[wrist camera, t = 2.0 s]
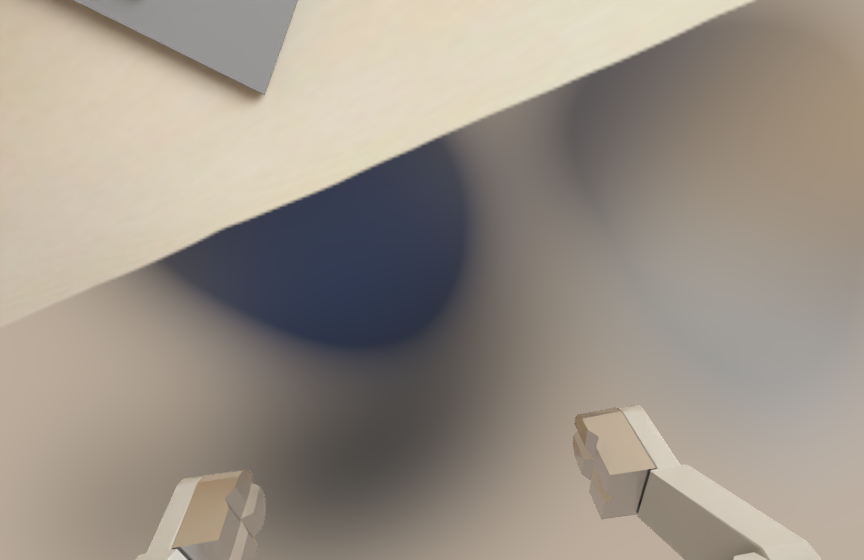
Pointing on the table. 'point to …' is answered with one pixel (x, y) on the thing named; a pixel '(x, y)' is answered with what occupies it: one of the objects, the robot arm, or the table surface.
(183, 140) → the table surface
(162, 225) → the table surface
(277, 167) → the table surface
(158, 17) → the board
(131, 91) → the table surface
